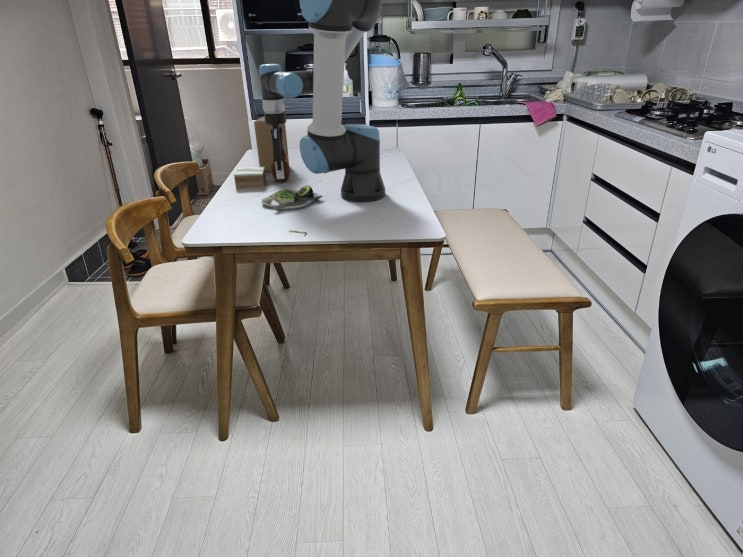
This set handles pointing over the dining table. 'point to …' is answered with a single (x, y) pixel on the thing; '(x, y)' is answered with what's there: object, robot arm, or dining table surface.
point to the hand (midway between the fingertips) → (281, 175)
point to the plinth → (250, 177)
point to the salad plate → (291, 198)
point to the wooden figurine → (285, 167)
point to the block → (267, 143)
